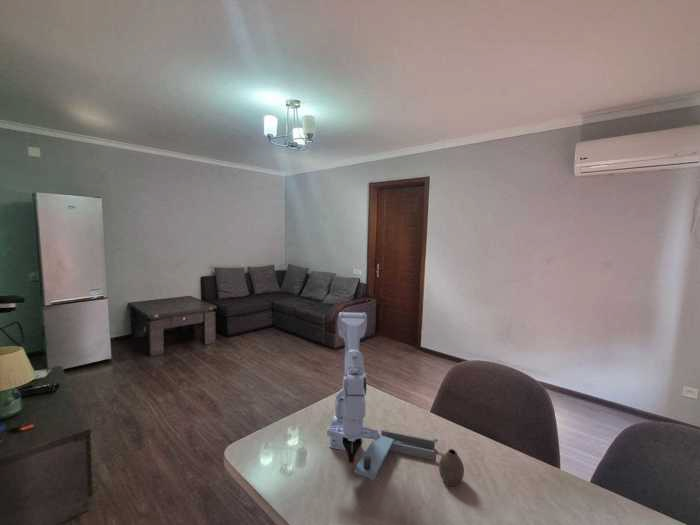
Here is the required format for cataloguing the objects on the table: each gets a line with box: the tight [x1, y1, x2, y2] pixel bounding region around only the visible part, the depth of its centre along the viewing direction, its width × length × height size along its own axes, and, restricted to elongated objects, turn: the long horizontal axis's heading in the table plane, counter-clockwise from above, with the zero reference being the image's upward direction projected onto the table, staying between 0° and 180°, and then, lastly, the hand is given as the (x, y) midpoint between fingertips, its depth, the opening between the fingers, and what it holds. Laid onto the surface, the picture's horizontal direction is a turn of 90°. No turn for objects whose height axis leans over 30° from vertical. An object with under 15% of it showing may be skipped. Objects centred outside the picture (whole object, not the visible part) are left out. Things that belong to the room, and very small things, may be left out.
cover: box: [353, 432, 394, 480], centre depth 96 cm, size 18×6×4 cm, turn 155°
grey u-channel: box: [380, 429, 439, 461], centre depth 105 cm, size 20×6×4 cm, turn 75°
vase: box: [438, 448, 465, 487], centre depth 91 cm, size 7×7×9 cm
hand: (351, 460), depth 91 cm, fingers closed
